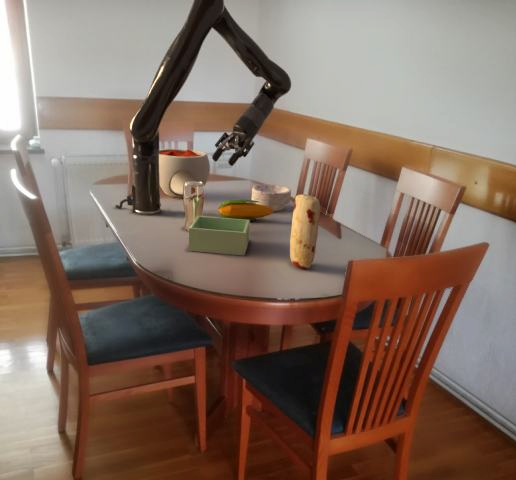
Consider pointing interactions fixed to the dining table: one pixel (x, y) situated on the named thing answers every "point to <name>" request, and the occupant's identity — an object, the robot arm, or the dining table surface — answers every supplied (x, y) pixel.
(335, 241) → the dining table surface
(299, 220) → the food model
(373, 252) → the dining table surface
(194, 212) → the beer glass
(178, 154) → the pot
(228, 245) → the tub
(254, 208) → the corn
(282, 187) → the paper bowls
